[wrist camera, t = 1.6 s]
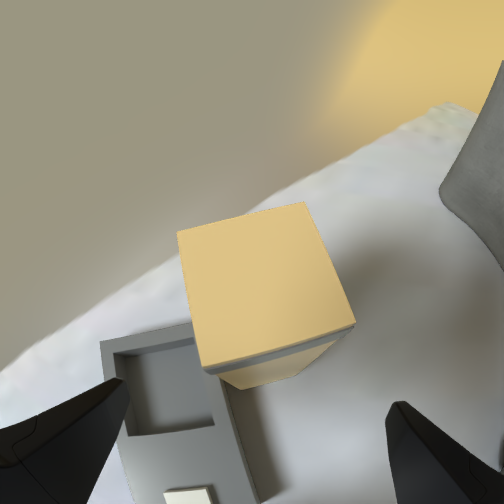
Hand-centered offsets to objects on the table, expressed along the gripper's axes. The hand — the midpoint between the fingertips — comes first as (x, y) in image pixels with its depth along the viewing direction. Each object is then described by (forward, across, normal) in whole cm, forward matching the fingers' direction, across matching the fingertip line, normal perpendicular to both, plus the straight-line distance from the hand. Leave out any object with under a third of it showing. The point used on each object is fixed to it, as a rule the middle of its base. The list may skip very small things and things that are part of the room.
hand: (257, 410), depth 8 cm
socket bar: (+6, +5, +10) cm, 13 cm away
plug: (+11, 0, +6) cm, 12 cm away
